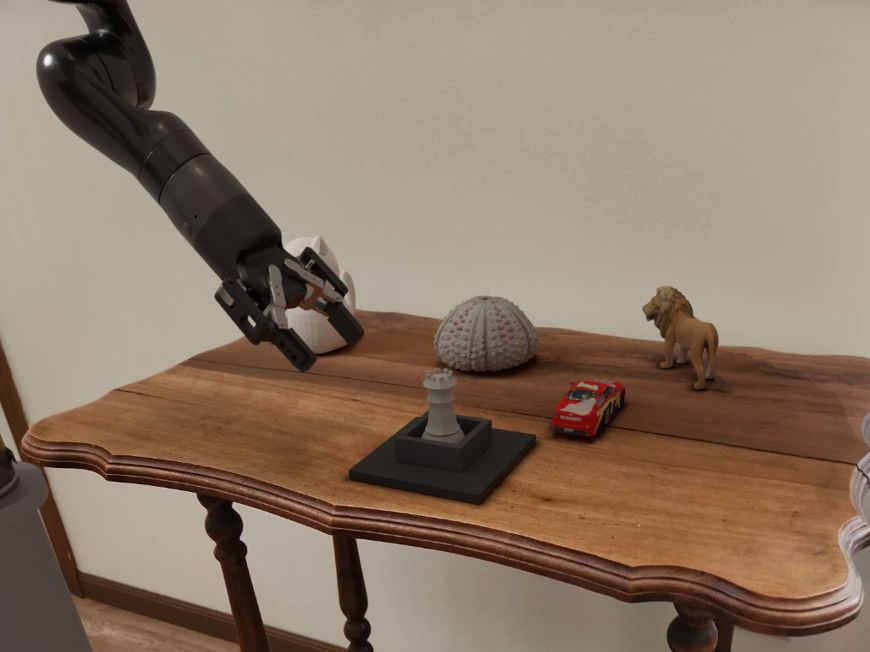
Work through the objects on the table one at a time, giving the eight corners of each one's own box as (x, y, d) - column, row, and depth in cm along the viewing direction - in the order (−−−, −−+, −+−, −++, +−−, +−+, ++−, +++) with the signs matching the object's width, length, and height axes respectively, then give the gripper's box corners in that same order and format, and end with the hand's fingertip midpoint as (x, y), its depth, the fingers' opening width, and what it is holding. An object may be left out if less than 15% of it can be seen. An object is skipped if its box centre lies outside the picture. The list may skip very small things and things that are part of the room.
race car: (585, 393, 94) (586, 359, 92) (630, 400, 92) (633, 365, 89) (542, 437, 84) (543, 401, 82) (592, 445, 82) (594, 408, 80)
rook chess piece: (466, 459, 79) (463, 380, 74) (421, 462, 79) (415, 382, 74) (465, 440, 82) (462, 363, 78) (421, 442, 83) (416, 366, 78)
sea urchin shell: (414, 363, 105) (410, 299, 101) (491, 338, 112) (490, 277, 107) (483, 388, 97) (481, 320, 92) (561, 359, 103) (563, 295, 99)
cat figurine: (274, 354, 111) (253, 237, 102) (331, 328, 119) (316, 218, 111) (325, 364, 107) (307, 242, 98) (380, 336, 115) (368, 222, 106)
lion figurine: (632, 359, 102) (638, 285, 97) (667, 352, 104) (674, 279, 99) (708, 397, 91) (719, 316, 86) (745, 387, 93) (758, 307, 88)
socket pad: (479, 504, 73) (478, 469, 71) (349, 479, 79) (344, 446, 77) (536, 443, 83) (536, 411, 81) (417, 424, 89) (414, 394, 87)
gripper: (185, 204, 70) (313, 351, 72) (283, 179, 80) (393, 308, 82) (154, 265, 75) (275, 400, 77) (250, 234, 85) (354, 354, 87)
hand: (335, 352), depth 80 cm, fingers open, 8 cm apart
